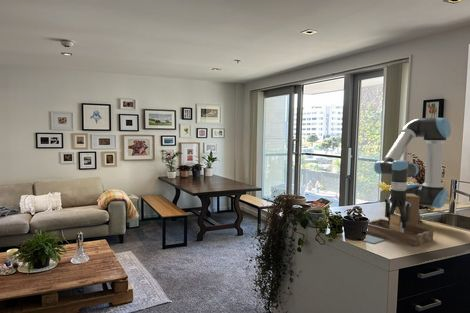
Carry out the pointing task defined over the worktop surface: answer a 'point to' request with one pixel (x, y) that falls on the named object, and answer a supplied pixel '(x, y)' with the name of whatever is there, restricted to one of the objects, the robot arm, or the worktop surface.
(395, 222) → the oak block
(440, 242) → the worktop surface
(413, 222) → the wooden block
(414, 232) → the brown wooden tray
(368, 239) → the mat
